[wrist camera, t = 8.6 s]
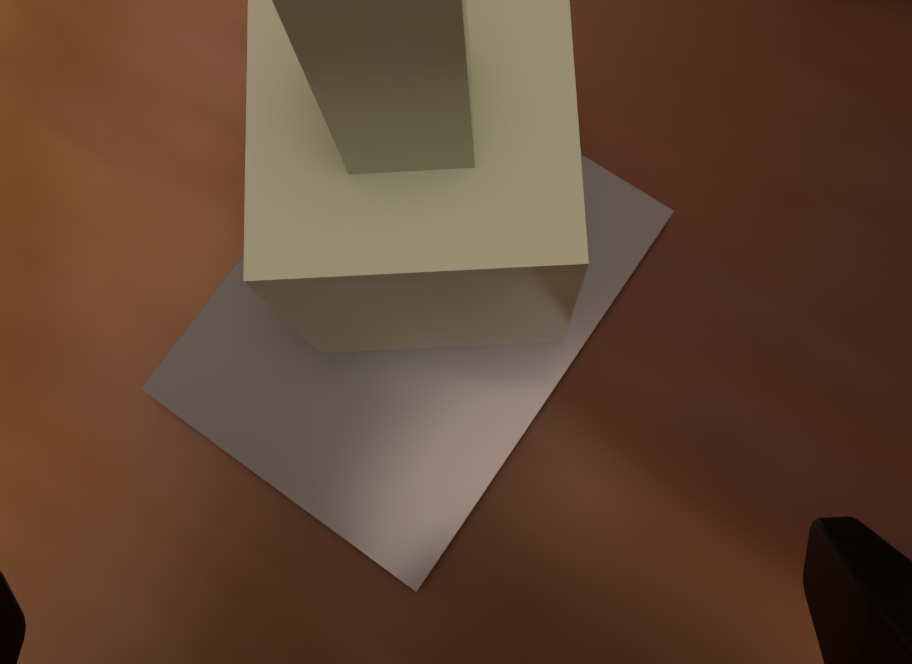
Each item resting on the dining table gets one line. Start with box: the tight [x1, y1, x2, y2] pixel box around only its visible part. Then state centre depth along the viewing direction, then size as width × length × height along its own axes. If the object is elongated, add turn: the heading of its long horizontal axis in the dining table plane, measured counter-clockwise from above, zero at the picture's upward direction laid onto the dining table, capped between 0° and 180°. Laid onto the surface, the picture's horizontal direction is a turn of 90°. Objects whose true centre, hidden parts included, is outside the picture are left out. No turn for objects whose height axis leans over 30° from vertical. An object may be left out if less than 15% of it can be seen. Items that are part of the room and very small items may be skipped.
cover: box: [243, 0, 589, 353], centre depth 17 cm, size 6×6×13 cm
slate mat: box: [141, 155, 674, 592], centre depth 24 cm, size 12×9×1 cm
